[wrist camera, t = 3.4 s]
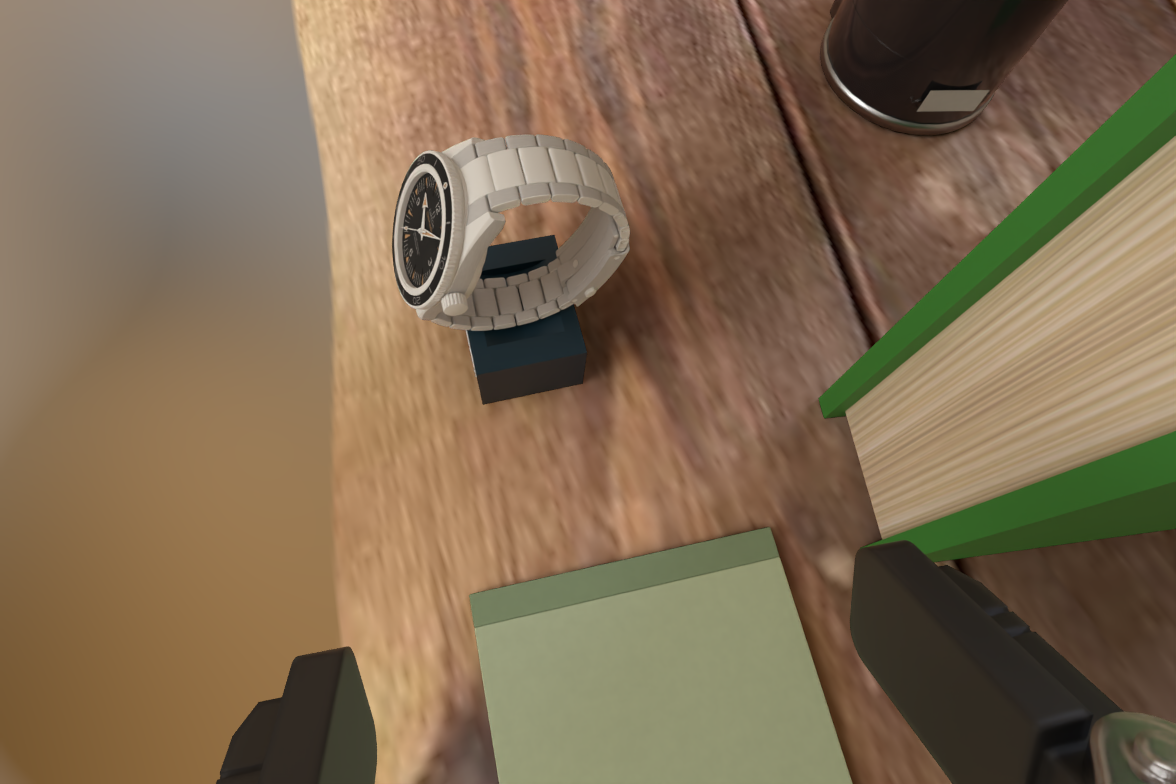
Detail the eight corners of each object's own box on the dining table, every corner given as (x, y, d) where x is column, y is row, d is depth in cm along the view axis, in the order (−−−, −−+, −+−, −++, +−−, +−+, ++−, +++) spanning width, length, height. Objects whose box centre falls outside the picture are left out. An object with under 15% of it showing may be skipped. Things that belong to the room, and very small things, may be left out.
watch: (415, 300, 30) (351, 115, 20) (590, 267, 32) (613, 78, 21) (436, 416, 29) (378, 276, 18) (622, 376, 30) (665, 225, 20)
